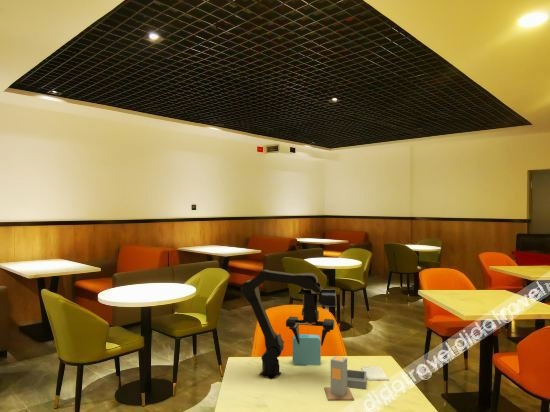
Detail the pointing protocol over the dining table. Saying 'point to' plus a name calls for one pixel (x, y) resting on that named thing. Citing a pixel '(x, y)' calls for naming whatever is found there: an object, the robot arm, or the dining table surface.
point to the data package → (307, 350)
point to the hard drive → (375, 374)
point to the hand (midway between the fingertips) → (310, 344)
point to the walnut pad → (333, 397)
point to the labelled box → (339, 376)
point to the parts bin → (356, 379)
